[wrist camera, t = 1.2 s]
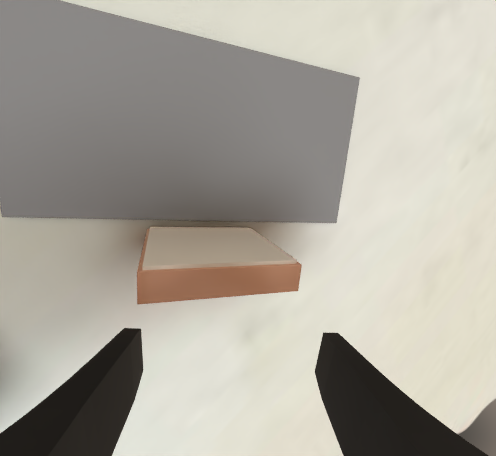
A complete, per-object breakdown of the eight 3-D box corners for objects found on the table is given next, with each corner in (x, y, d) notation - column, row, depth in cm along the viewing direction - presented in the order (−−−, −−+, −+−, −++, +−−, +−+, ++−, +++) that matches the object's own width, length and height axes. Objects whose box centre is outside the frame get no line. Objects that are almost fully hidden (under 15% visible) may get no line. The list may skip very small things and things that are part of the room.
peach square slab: (250, 246, 21) (298, 290, 14) (147, 248, 18) (137, 304, 11) (251, 227, 21) (301, 261, 13) (147, 226, 18) (137, 267, 11)
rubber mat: (334, 222, 23) (336, 223, 23) (4, 216, 15) (2, 216, 15) (357, 78, 20) (359, 77, 20) (-25, -19, 13) (-29, -23, 12)
